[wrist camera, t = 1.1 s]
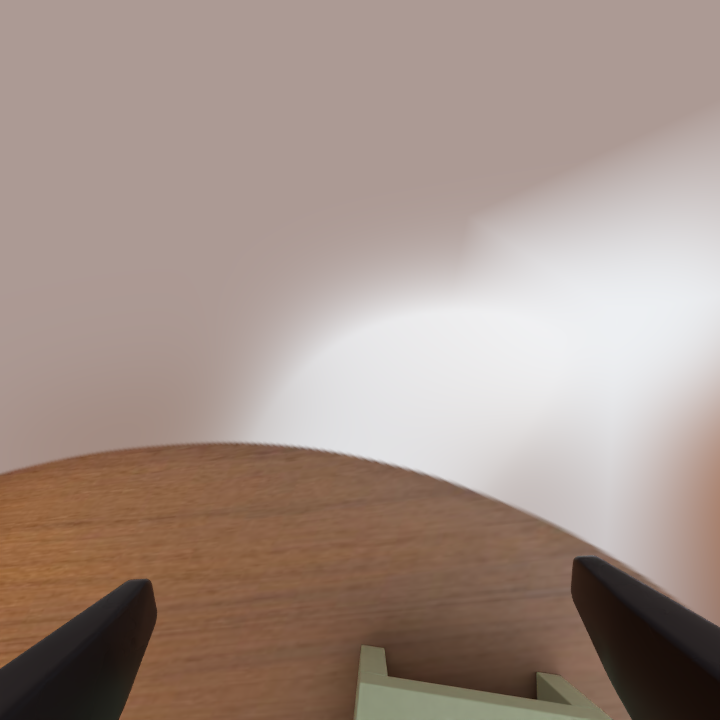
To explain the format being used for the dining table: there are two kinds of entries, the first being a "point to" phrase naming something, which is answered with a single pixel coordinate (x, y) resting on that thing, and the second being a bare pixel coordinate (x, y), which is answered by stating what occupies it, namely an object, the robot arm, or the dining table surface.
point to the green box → (461, 698)
